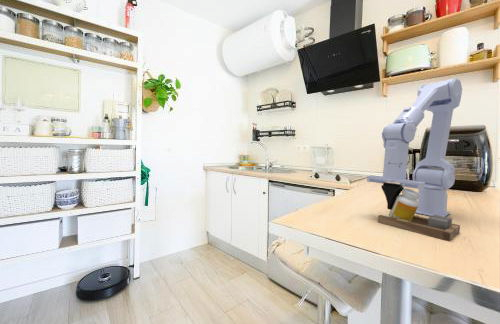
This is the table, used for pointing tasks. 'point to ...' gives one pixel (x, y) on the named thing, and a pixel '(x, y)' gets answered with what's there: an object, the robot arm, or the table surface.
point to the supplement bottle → (405, 205)
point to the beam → (425, 225)
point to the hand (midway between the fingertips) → (391, 209)
